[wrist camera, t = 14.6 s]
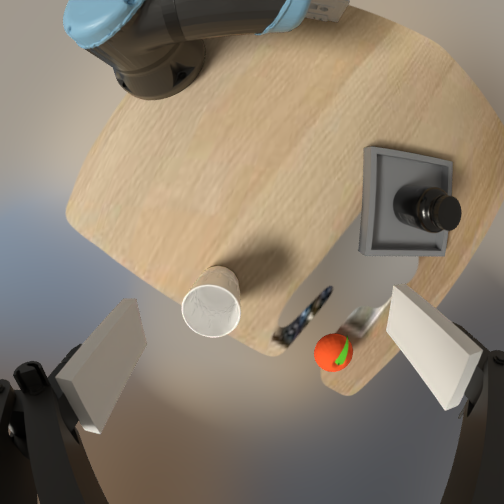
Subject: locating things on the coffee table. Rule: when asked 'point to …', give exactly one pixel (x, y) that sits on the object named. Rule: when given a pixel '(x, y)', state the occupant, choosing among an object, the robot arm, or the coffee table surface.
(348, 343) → the clementine
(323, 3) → the cassette
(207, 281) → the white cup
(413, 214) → the supplement bottle
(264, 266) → the coffee table surface
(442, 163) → the tray
